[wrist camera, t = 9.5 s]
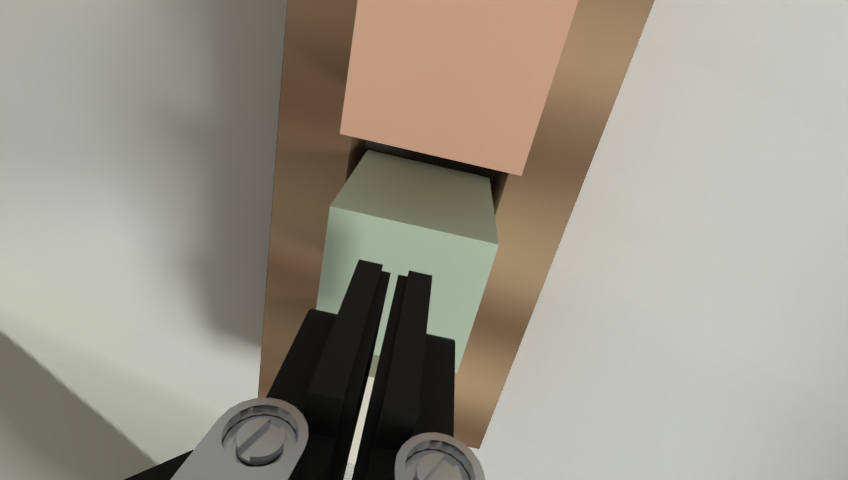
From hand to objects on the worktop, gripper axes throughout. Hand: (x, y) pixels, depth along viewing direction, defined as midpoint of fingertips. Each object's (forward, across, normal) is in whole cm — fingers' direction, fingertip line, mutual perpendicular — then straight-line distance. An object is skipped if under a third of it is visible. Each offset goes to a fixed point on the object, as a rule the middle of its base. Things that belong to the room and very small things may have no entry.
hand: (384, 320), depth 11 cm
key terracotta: (+7, 0, -6) cm, 9 cm away
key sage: (+7, 0, 0) cm, 7 cm away
